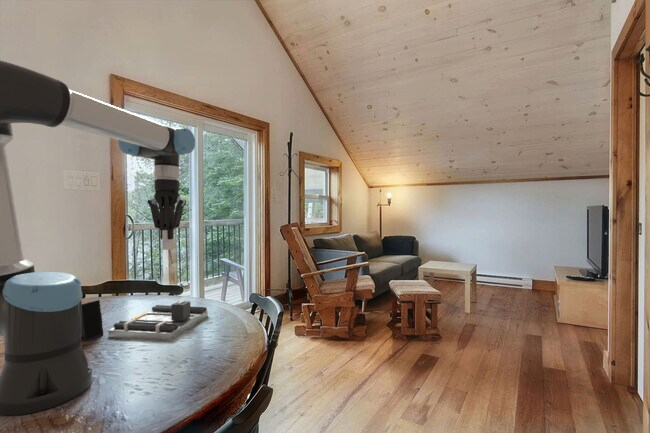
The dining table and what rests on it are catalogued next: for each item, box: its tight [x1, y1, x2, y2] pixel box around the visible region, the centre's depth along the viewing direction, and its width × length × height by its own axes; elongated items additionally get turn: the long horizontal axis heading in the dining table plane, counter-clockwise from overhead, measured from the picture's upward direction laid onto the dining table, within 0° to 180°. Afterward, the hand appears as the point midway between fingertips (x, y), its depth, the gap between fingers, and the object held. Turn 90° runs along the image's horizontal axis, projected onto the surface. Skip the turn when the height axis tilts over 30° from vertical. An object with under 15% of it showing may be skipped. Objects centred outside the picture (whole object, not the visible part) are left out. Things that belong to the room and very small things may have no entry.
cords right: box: [151, 304, 208, 313], centre depth 113 cm, size 4×19×2 cm, turn 83°
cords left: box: [113, 318, 178, 332], centre depth 96 cm, size 4×19×2 cm, turn 82°
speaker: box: [81, 299, 104, 342], centre depth 96 cm, size 8×6×10 cm
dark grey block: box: [170, 300, 191, 321], centre depth 104 cm, size 4×4×5 cm
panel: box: [107, 309, 209, 342], centre depth 104 cm, size 22×19×2 cm
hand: (166, 249), depth 111 cm, fingers closed
